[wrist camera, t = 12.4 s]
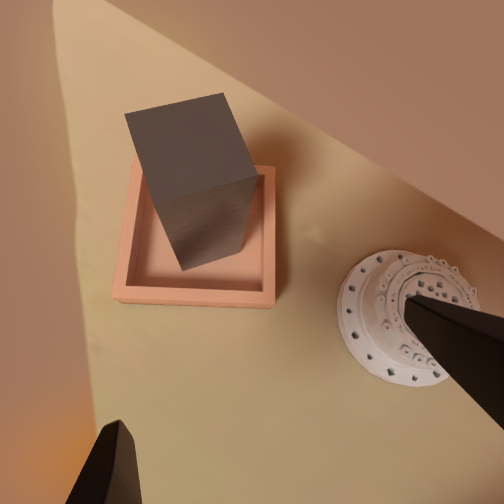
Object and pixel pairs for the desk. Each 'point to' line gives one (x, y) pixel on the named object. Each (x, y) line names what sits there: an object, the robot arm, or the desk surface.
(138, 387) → the desk surface
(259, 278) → the terracotta bin
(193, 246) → the graphite square block
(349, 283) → the mechanical component
